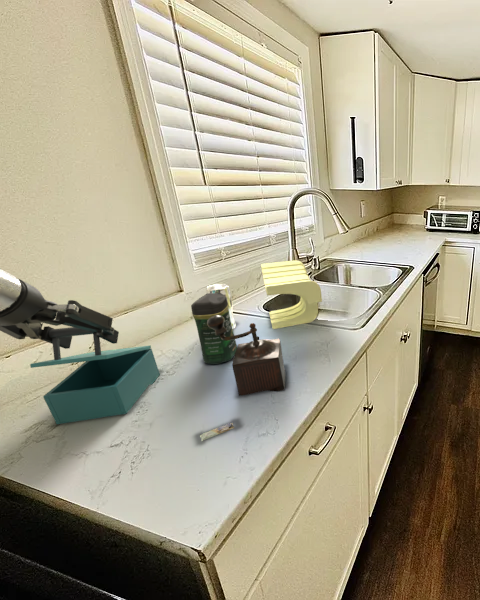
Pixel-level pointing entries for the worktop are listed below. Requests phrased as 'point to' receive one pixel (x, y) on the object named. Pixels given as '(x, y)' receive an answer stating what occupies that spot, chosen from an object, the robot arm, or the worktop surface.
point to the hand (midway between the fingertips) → (92, 340)
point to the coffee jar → (211, 343)
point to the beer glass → (226, 291)
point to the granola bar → (216, 431)
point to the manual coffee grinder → (254, 360)
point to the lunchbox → (102, 387)
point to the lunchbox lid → (82, 357)
